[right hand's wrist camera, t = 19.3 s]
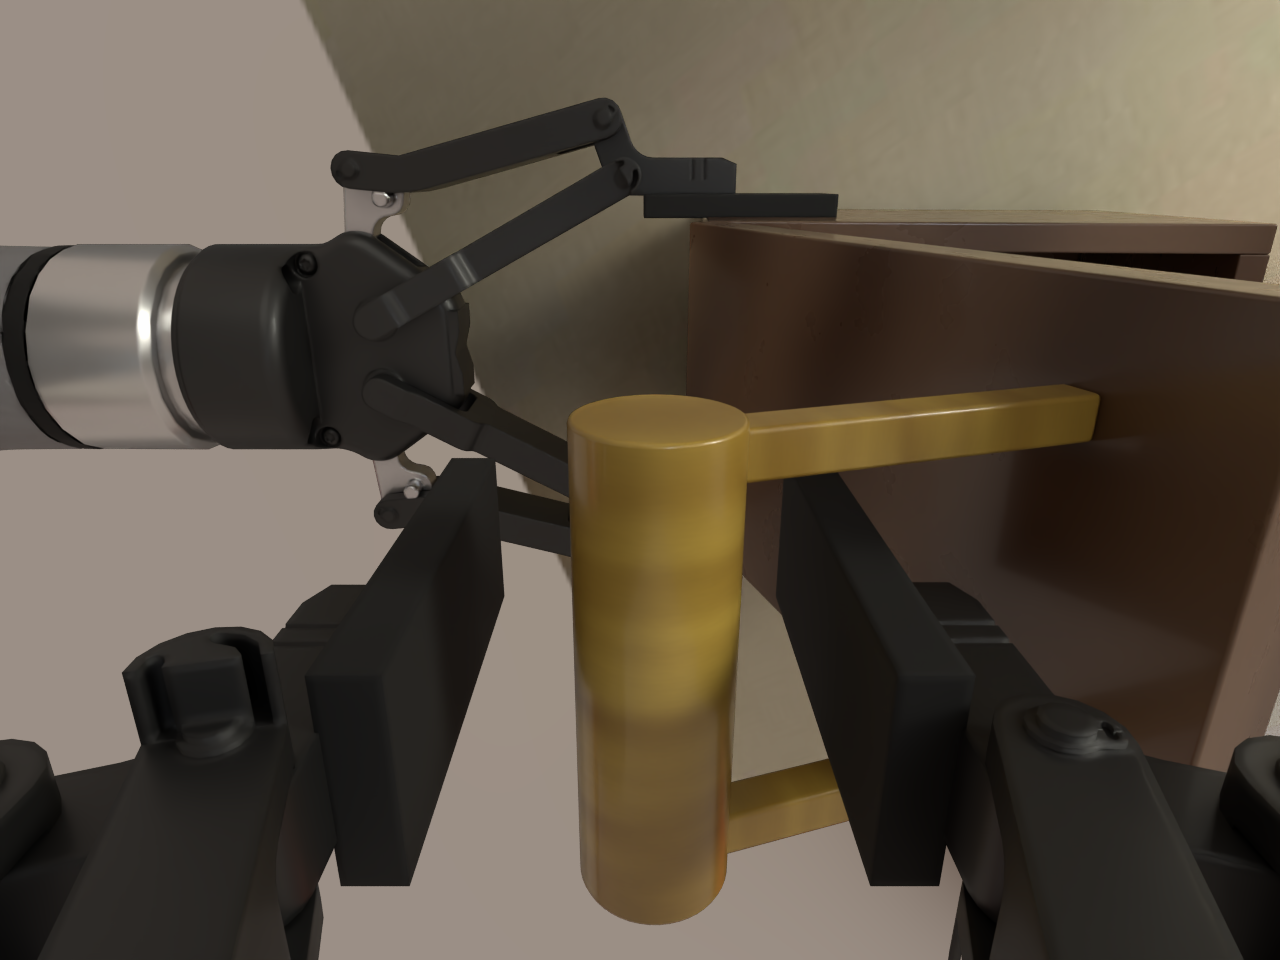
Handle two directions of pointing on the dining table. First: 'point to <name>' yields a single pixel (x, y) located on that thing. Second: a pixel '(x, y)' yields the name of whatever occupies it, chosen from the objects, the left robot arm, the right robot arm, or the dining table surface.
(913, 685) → the right robot arm
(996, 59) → the dining table surface
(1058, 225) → the chest
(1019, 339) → the lid
